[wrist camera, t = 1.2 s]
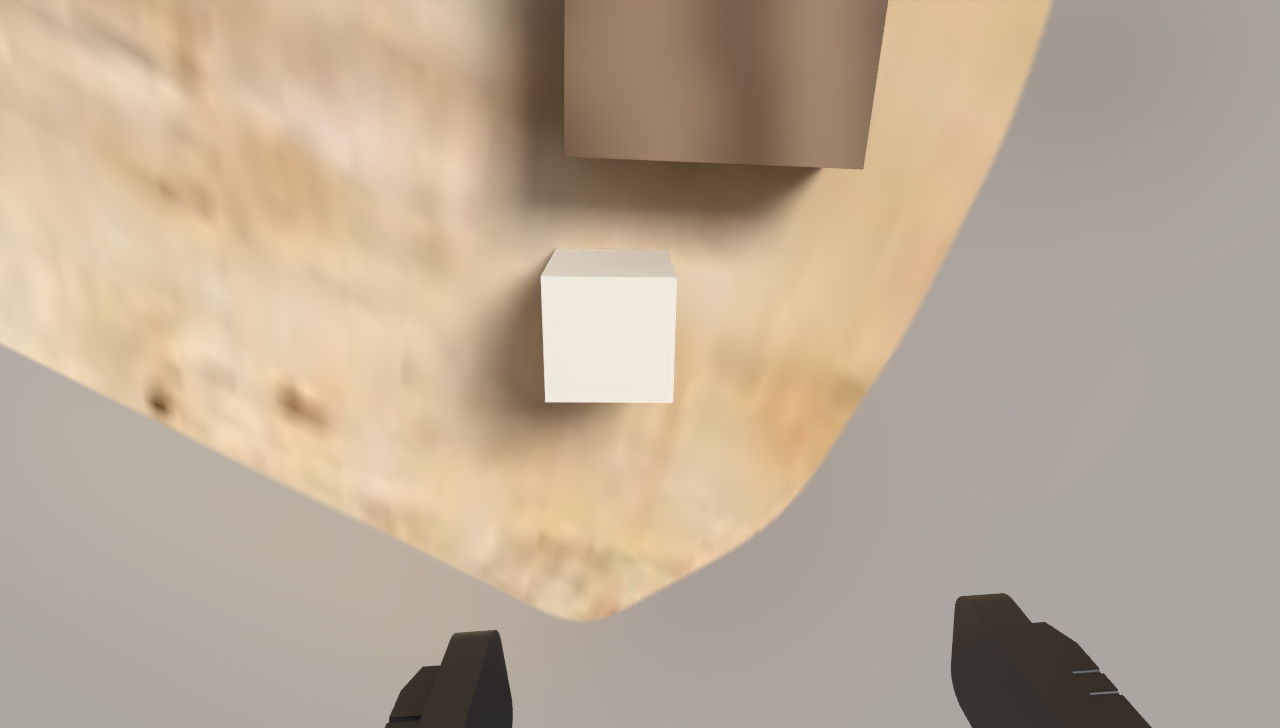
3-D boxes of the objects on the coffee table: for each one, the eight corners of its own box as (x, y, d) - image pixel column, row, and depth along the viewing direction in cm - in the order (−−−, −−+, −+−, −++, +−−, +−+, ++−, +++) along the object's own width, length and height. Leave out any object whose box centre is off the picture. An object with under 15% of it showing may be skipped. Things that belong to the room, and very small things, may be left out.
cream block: (559, 353, 32) (545, 402, 26) (556, 247, 30) (540, 276, 25) (664, 353, 32) (672, 402, 26) (667, 248, 30) (676, 277, 25)
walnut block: (574, 151, 29) (564, 156, 24) (576, -154, 25) (565, -216, 21) (825, 161, 30) (863, 169, 25) (864, -138, 26) (916, -195, 21)
